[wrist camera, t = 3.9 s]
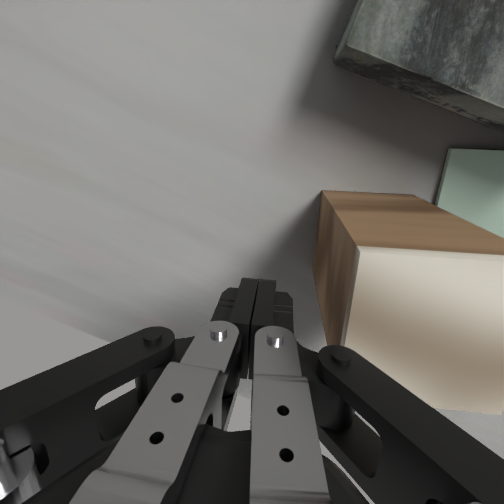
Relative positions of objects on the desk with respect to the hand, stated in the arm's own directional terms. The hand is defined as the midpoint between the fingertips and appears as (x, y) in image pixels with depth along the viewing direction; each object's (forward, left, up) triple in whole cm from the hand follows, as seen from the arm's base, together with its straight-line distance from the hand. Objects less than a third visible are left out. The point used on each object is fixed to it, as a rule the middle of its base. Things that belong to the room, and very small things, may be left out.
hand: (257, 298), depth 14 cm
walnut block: (0, +6, -10) cm, 12 cm away
